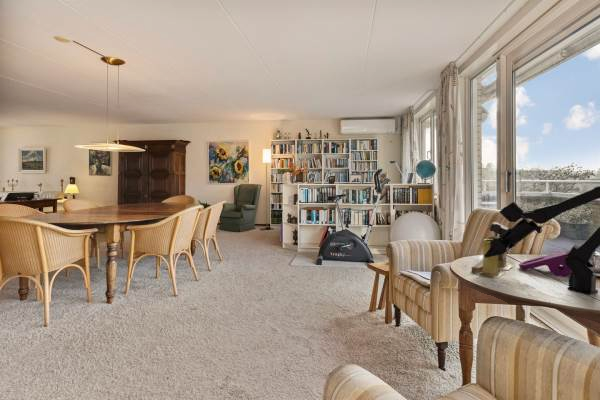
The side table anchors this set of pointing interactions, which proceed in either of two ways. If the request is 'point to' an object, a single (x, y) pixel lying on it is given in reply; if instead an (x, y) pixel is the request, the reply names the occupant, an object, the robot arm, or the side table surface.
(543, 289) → the side table surface
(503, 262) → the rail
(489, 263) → the vase
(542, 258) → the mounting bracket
